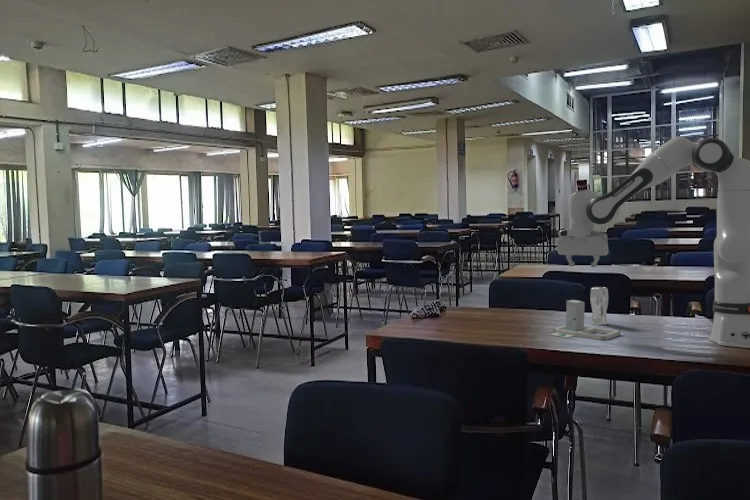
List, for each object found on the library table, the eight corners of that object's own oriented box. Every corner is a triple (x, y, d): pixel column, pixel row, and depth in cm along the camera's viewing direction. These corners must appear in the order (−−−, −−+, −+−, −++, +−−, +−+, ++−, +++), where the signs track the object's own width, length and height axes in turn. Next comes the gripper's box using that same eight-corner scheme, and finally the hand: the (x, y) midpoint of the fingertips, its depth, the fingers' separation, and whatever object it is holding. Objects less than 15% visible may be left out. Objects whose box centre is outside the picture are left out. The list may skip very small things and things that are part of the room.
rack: (620, 334, 224) (620, 331, 224) (596, 342, 213) (596, 338, 213) (570, 327, 240) (570, 324, 240) (545, 334, 229) (545, 330, 229)
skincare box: (565, 330, 234) (565, 300, 233) (574, 329, 235) (574, 299, 234) (575, 333, 228) (575, 302, 227) (585, 332, 229) (584, 301, 229)
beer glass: (605, 326, 241) (605, 289, 240) (588, 324, 246) (588, 288, 245) (610, 323, 247) (610, 287, 246) (593, 321, 251) (593, 286, 250)
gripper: (611, 230, 225) (612, 266, 226) (563, 231, 240) (564, 265, 241) (602, 231, 221) (603, 268, 222) (554, 232, 236) (555, 266, 237)
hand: (582, 266), depth 232 cm, fingers open, 8 cm apart
